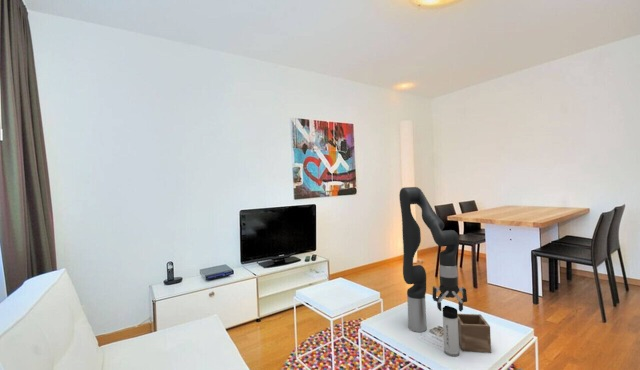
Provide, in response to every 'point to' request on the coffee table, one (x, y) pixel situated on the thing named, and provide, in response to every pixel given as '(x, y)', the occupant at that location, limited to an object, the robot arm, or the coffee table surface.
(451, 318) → the travel mug
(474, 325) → the wooden box
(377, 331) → the coffee table surface
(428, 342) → the coffee table surface
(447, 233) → the robot arm
